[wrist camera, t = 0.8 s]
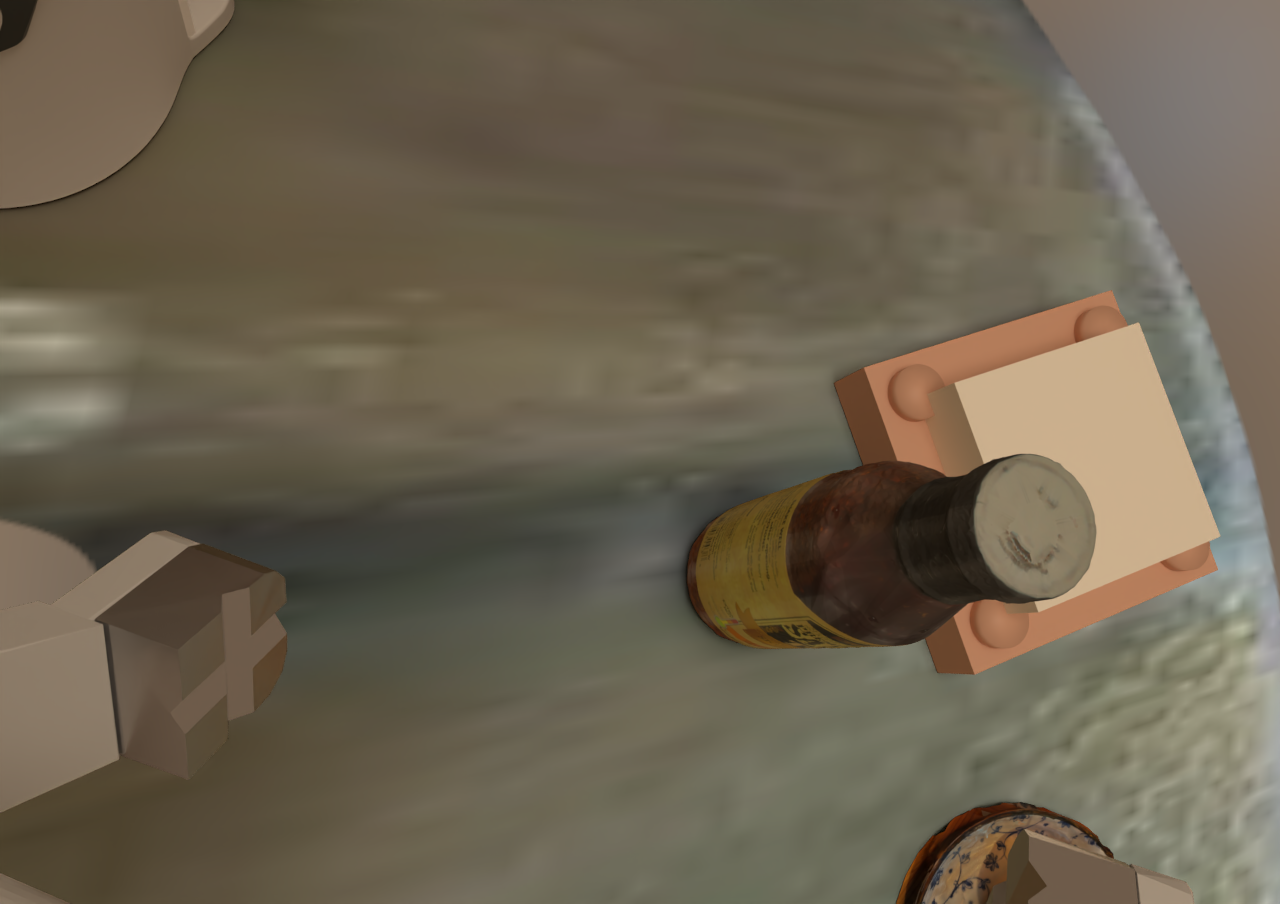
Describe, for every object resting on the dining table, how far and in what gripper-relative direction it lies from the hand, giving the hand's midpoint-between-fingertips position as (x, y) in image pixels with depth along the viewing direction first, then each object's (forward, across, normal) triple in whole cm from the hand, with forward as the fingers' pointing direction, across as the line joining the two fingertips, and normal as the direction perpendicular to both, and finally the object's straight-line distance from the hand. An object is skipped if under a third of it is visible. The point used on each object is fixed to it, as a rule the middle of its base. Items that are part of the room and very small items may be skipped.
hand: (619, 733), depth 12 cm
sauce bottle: (+32, +2, +20) cm, 37 cm away
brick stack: (+41, -8, +16) cm, 45 cm away
